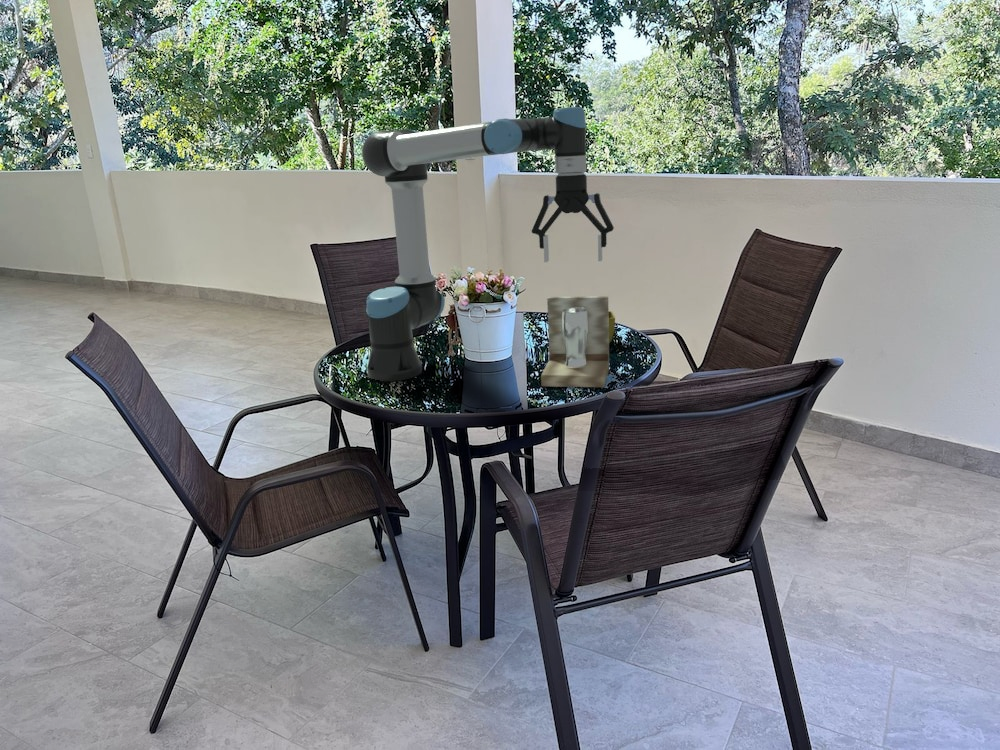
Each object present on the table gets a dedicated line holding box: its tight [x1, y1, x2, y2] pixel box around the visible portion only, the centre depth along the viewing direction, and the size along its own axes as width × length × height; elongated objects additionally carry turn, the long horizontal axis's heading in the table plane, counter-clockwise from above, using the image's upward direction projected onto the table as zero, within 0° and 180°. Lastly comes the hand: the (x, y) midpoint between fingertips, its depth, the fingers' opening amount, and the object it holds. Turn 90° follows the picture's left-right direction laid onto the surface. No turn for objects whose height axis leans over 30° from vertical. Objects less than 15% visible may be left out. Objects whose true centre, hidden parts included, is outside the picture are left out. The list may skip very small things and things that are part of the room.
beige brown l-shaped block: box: [540, 295, 610, 388], centre depth 198 cm, size 16×16×20 cm
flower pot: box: [609, 310, 616, 344], centre depth 230 cm, size 9×9×9 cm
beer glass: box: [562, 307, 589, 369], centre depth 198 cm, size 7×7×15 cm
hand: (573, 261), depth 192 cm, fingers open, 13 cm apart
